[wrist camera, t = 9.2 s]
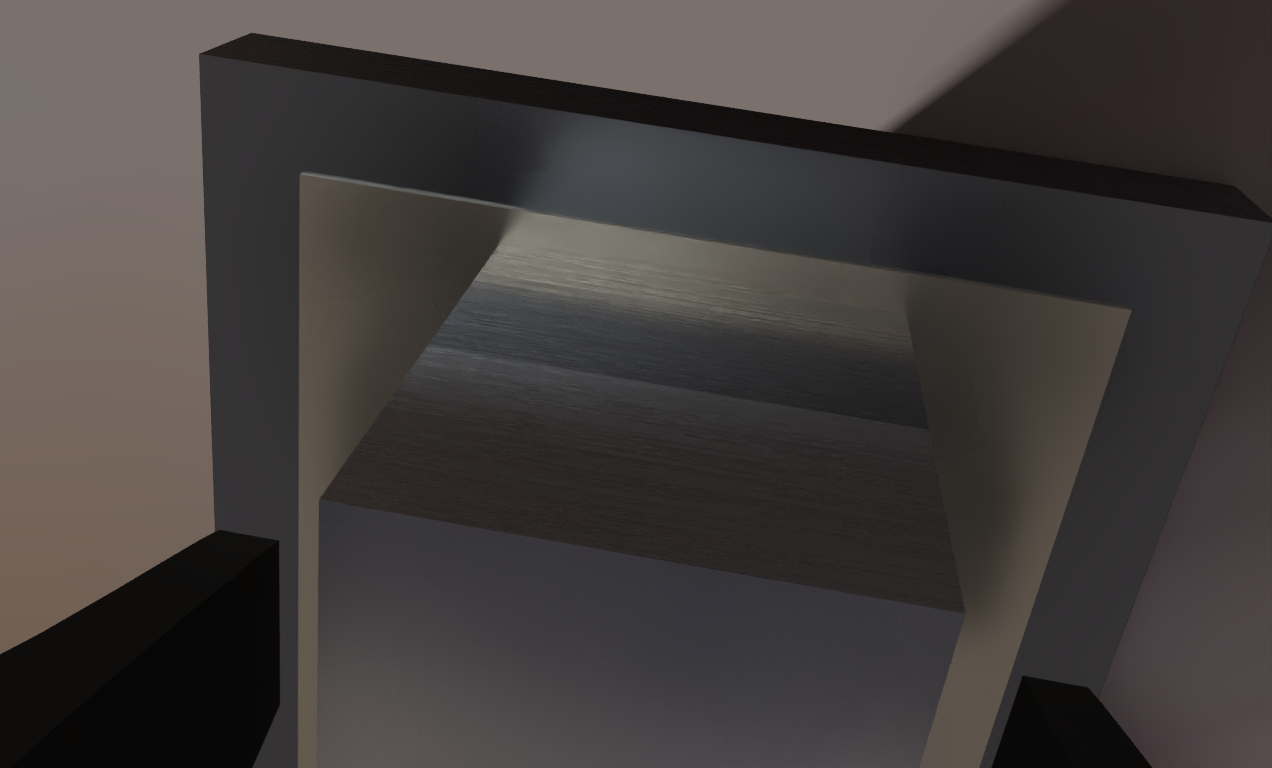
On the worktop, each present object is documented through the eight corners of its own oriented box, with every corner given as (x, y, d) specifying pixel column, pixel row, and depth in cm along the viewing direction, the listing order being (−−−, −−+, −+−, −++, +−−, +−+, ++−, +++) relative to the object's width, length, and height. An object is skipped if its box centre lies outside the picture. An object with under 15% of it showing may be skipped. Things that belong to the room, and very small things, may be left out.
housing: (778, 843, 15) (767, 1275, 10) (456, 782, 15) (313, 1179, 11) (906, 314, 12) (966, 614, 7) (497, 247, 12) (319, 498, 7)
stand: (980, 900, 16) (992, 981, 15) (262, 762, 17) (223, 830, 16) (1235, 186, 12) (1279, 225, 11) (251, 32, 12) (196, 54, 11)
